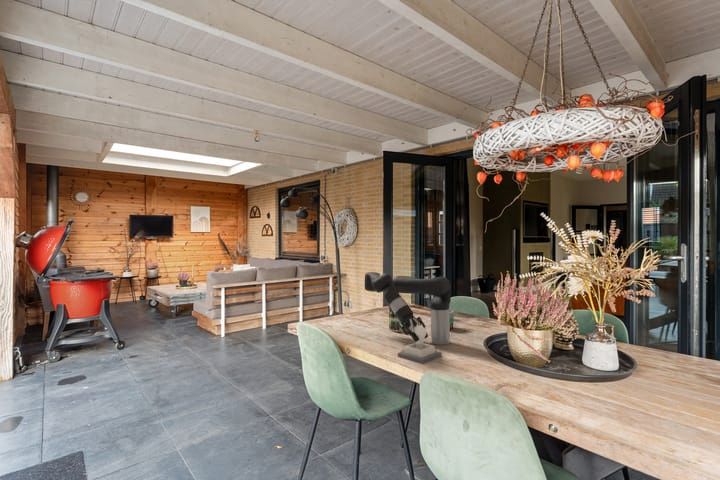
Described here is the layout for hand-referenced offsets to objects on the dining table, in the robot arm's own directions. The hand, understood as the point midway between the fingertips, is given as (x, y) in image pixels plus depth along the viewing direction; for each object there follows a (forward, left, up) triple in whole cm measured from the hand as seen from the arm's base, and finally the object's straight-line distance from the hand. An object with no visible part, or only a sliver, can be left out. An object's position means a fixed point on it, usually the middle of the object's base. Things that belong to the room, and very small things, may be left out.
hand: (422, 339), depth 165 cm
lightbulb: (-1, -1, -5) cm, 6 cm away
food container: (-44, +31, -8) cm, 55 cm away
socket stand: (-1, -1, -8) cm, 8 cm away
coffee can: (-50, +2, -8) cm, 51 cm away
